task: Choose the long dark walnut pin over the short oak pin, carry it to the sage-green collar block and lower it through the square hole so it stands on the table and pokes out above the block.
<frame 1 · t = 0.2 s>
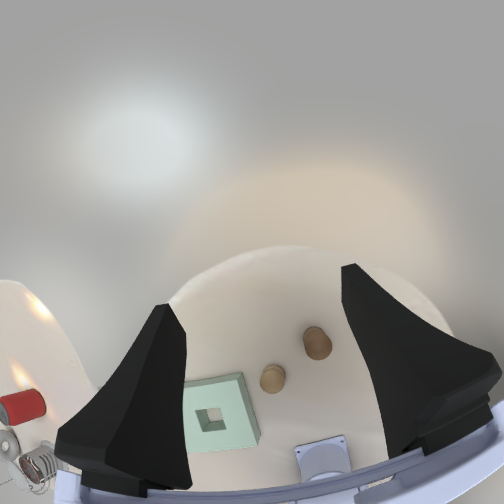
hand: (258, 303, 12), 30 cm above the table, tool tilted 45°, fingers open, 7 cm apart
french press: (55, 460, 43), on the table
beer can: (38, 401, 45), on the table
collar block: (217, 410, 40), on the table
long pin: (314, 337, 40), on the table
donut: (17, 441, 45), on the table
short pin: (274, 375, 40), on the table
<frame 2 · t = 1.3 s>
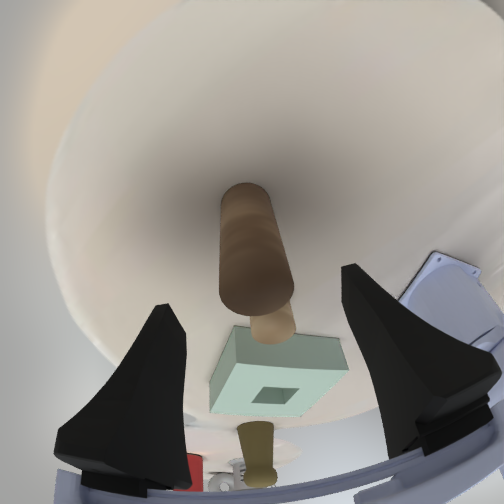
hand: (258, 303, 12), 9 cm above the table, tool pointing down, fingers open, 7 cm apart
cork: (255, 426, 42), on the table
french press: (251, 461, 58), on the table
beer can: (188, 455, 53), on the table
collar block: (270, 364, 30), on the table
long pin: (245, 205, 19), on the table
donut: (223, 472, 67), on the table
short pin: (267, 293, 24), on the table
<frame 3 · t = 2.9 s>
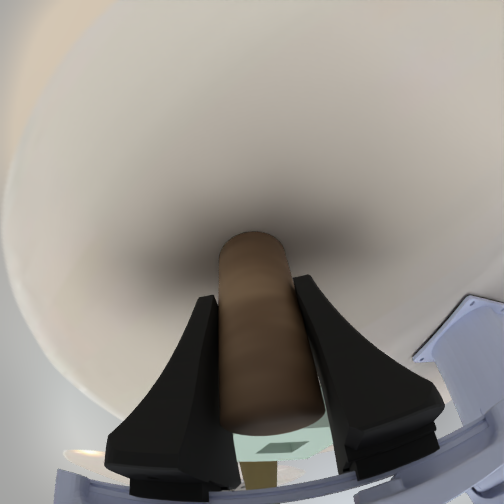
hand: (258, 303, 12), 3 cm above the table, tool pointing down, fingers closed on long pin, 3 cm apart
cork: (258, 457, 37), on the table
collar block: (276, 411, 25), on the table
long pin: (252, 259, 14), on the table, touching gripper
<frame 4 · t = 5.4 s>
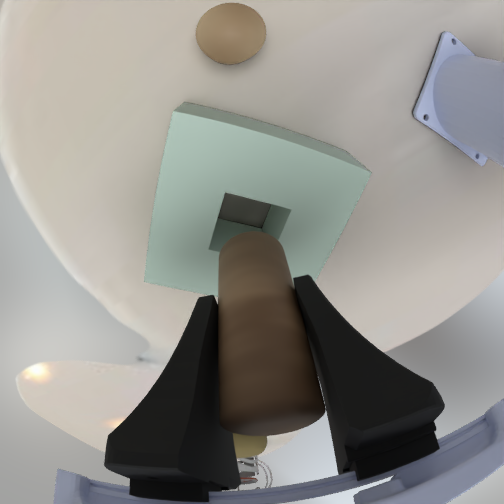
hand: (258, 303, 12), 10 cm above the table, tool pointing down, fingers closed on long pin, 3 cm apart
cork: (235, 365, 32), on the table
french press: (239, 437, 49), on the table
collar block: (244, 199, 20), on the table
long pin: (252, 259, 14), point 7 cm above the table, touching gripper
short pin: (230, 40, 14), on the table
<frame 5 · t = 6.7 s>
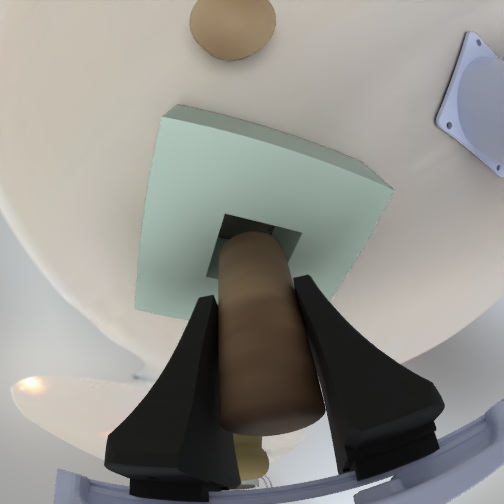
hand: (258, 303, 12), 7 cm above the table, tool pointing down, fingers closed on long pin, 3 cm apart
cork: (236, 384, 30), on the table
collar block: (247, 216, 18), on the table
long pin: (252, 259, 14), point 4 cm above the table, touching gripper
short pin: (231, 32, 11), on the table
when the fingers open (5 cm above the table, at t = 8.0 s): long pin drops 2 cm, resting in collar block.
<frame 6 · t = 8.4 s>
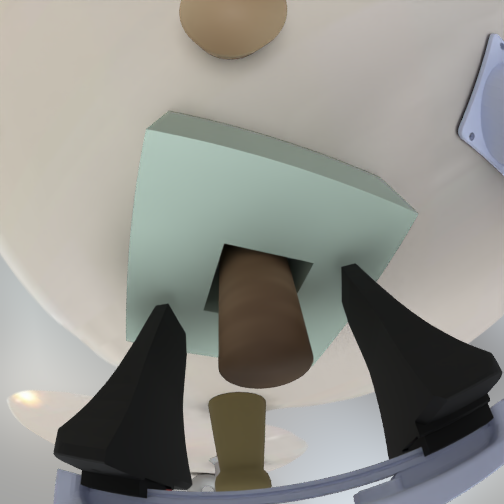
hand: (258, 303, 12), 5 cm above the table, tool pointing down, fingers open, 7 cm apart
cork: (237, 402, 28), on the table
collar block: (249, 237, 16), on the table
long pin: (249, 237, 16), resting in collar block
donut: (207, 473, 53), on the table
short pin: (231, 26, 10), on the table
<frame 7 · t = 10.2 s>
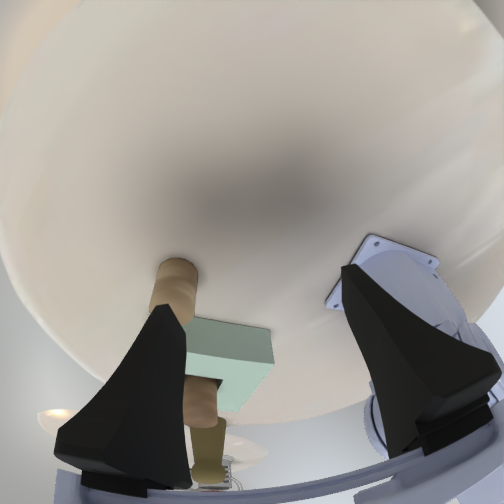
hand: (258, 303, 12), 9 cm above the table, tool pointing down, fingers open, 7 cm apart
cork: (207, 420, 41), on the table
french press: (217, 458, 57), on the table
collar block: (200, 353, 29), on the table
long pin: (201, 352, 29), resting in collar block
donut: (194, 469, 66), on the table
short pin: (177, 274, 23), on the table
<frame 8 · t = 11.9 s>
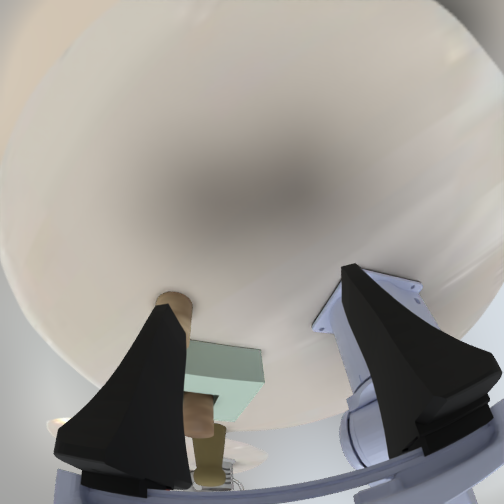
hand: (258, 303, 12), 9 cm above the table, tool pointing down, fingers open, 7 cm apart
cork: (208, 427, 43), on the table
french press: (219, 461, 59), on the table
collar block: (198, 369, 31), on the table
long pin: (199, 369, 31), resting in collar block
donut: (197, 471, 68), on the table
short pin: (174, 305, 25), on the table
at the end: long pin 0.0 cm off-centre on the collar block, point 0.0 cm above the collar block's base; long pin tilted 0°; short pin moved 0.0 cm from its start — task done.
